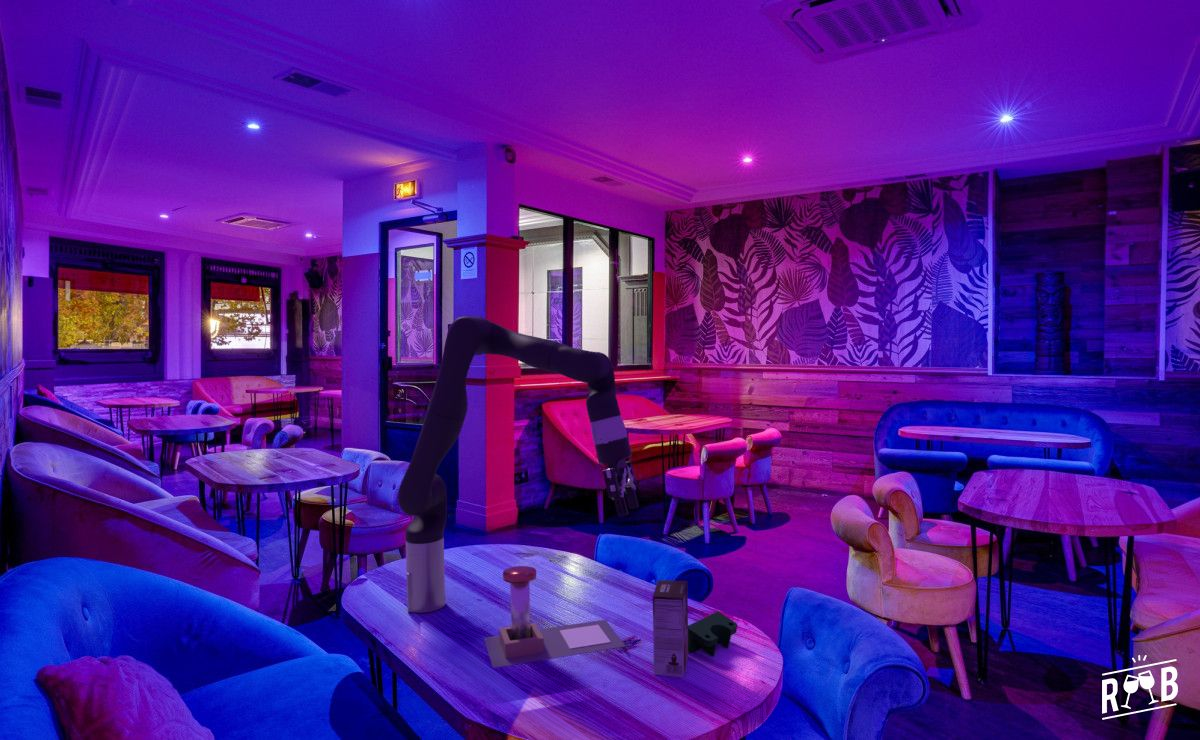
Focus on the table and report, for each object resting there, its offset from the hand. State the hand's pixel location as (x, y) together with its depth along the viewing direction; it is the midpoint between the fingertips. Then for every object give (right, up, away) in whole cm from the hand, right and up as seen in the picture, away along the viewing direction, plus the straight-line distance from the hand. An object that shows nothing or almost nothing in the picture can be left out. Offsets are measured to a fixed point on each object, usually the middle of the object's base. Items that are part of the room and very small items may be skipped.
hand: (628, 512), depth 142 cm
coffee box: (+8, -29, -10) cm, 32 cm away
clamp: (+18, -29, -2) cm, 34 cm away
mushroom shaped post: (-23, -28, -4) cm, 36 cm away
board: (-16, -29, -2) cm, 33 cm away
